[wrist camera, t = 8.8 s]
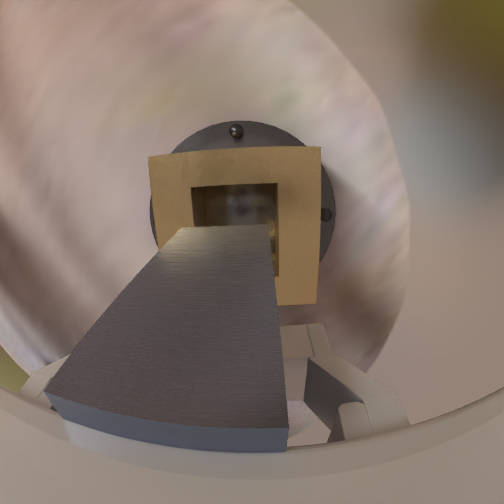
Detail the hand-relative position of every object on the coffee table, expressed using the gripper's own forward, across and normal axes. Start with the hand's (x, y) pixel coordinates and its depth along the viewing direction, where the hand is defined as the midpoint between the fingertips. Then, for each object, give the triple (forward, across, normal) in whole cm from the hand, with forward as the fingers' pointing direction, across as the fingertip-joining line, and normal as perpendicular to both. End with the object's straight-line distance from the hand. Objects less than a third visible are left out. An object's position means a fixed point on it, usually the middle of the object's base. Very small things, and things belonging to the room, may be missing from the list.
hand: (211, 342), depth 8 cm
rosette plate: (+18, 0, 0) cm, 18 cm away
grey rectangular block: (+5, 0, 0) cm, 5 cm away
